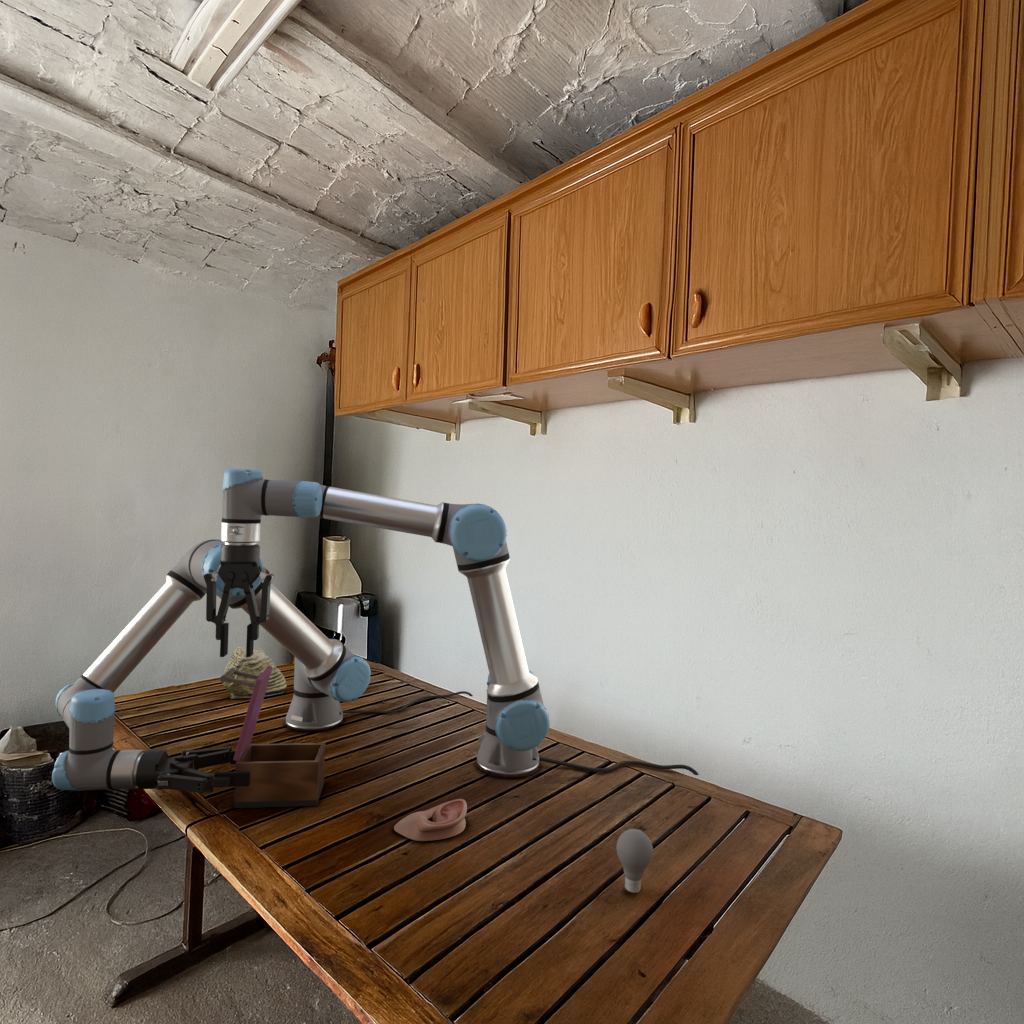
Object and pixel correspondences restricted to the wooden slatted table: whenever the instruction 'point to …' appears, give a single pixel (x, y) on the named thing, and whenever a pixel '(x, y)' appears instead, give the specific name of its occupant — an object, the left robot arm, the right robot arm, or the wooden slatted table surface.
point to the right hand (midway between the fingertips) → (236, 655)
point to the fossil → (255, 667)
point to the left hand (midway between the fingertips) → (256, 767)
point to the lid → (253, 705)
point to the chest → (281, 775)
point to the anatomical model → (434, 822)
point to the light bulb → (634, 857)
